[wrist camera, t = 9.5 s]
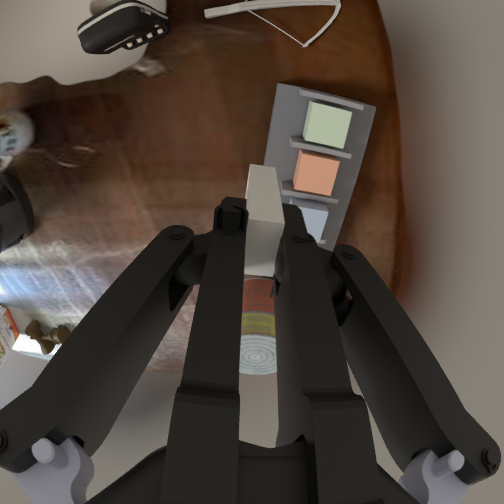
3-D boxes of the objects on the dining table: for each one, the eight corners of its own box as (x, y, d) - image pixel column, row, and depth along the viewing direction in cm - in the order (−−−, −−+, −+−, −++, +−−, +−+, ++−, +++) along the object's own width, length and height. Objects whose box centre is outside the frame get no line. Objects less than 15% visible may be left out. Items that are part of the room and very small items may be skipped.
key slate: (283, 226, 37) (284, 237, 35) (290, 196, 34) (292, 205, 32) (316, 232, 37) (319, 242, 35) (325, 202, 35) (328, 212, 33)
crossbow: (327, -35, 20) (331, -40, 18) (344, 46, 27) (349, 45, 25) (198, -24, 21) (195, -29, 19) (215, 59, 28) (213, 58, 27)
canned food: (218, 310, 53) (208, 364, 43) (239, 268, 46) (231, 325, 37) (273, 327, 55) (272, 380, 45) (301, 289, 48) (307, 346, 39)
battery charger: (127, 57, 27) (76, 59, 18) (120, 34, 25) (68, 30, 16) (176, 36, 26) (137, 25, 17) (168, 12, 24) (128, -6, 15)
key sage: (302, 135, 31) (305, 140, 29) (309, 100, 28) (313, 102, 26) (338, 143, 31) (343, 148, 29) (346, 109, 29) (352, 112, 27)
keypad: (248, 251, 44) (247, 270, 40) (277, 82, 30) (279, 83, 26) (323, 261, 45) (328, 281, 41) (370, 105, 30) (384, 110, 26)
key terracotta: (292, 181, 34) (294, 189, 32) (299, 148, 32) (302, 153, 30) (326, 187, 35) (330, 195, 33) (335, 155, 32) (339, 161, 30)
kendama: (80, 339, 65) (43, 341, 69) (59, 314, 60) (25, 320, 64) (72, 355, 60) (36, 355, 64) (49, 330, 55) (16, 334, 59)
